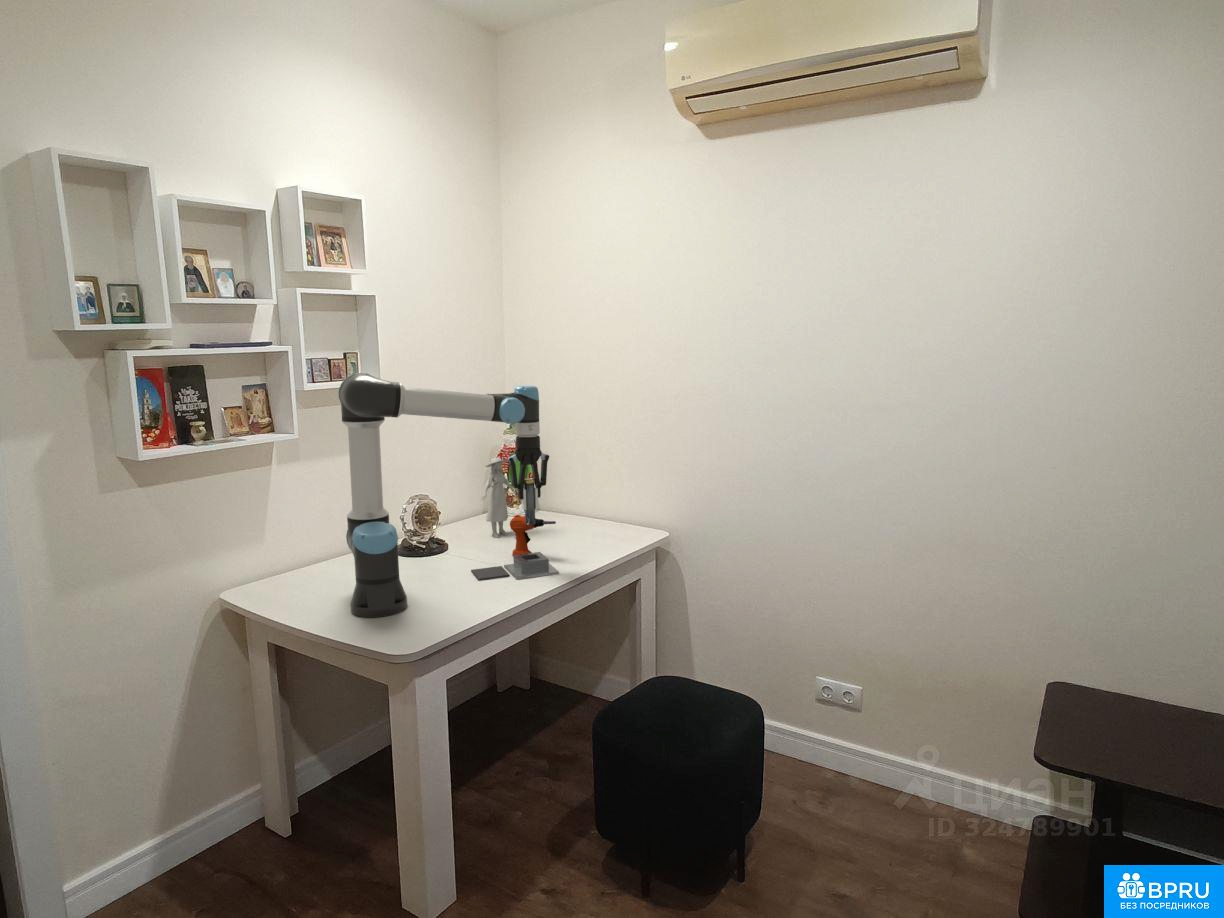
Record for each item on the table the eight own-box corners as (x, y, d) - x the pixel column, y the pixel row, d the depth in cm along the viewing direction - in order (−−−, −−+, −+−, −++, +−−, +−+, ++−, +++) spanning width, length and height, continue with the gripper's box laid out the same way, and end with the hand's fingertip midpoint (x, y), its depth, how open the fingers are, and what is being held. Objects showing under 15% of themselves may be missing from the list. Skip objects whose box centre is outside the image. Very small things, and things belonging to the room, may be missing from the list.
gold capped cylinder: (526, 525, 241) (525, 481, 238) (522, 523, 244) (521, 478, 242) (537, 524, 242) (536, 480, 240) (534, 521, 246) (533, 477, 243)
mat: (478, 580, 236) (478, 578, 236) (471, 571, 245) (471, 569, 245) (509, 576, 240) (509, 574, 240) (501, 567, 249) (501, 565, 249)
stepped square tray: (516, 579, 237) (515, 565, 236) (504, 567, 250) (503, 554, 249) (558, 573, 242) (558, 560, 242) (544, 562, 255) (544, 549, 254)
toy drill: (556, 559, 253) (550, 515, 251) (510, 559, 261) (504, 516, 260) (563, 555, 257) (558, 512, 255) (518, 555, 266) (512, 513, 264)
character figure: (490, 541, 280) (487, 461, 275) (475, 538, 285) (472, 459, 280) (522, 532, 293) (520, 455, 288) (507, 529, 298) (505, 453, 293)
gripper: (505, 438, 232) (508, 513, 236) (556, 435, 238) (557, 508, 242) (499, 435, 239) (501, 508, 243) (548, 432, 245) (550, 503, 249)
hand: (529, 508), depth 242 cm, fingers closed on gold capped cylinder, 3 cm apart
